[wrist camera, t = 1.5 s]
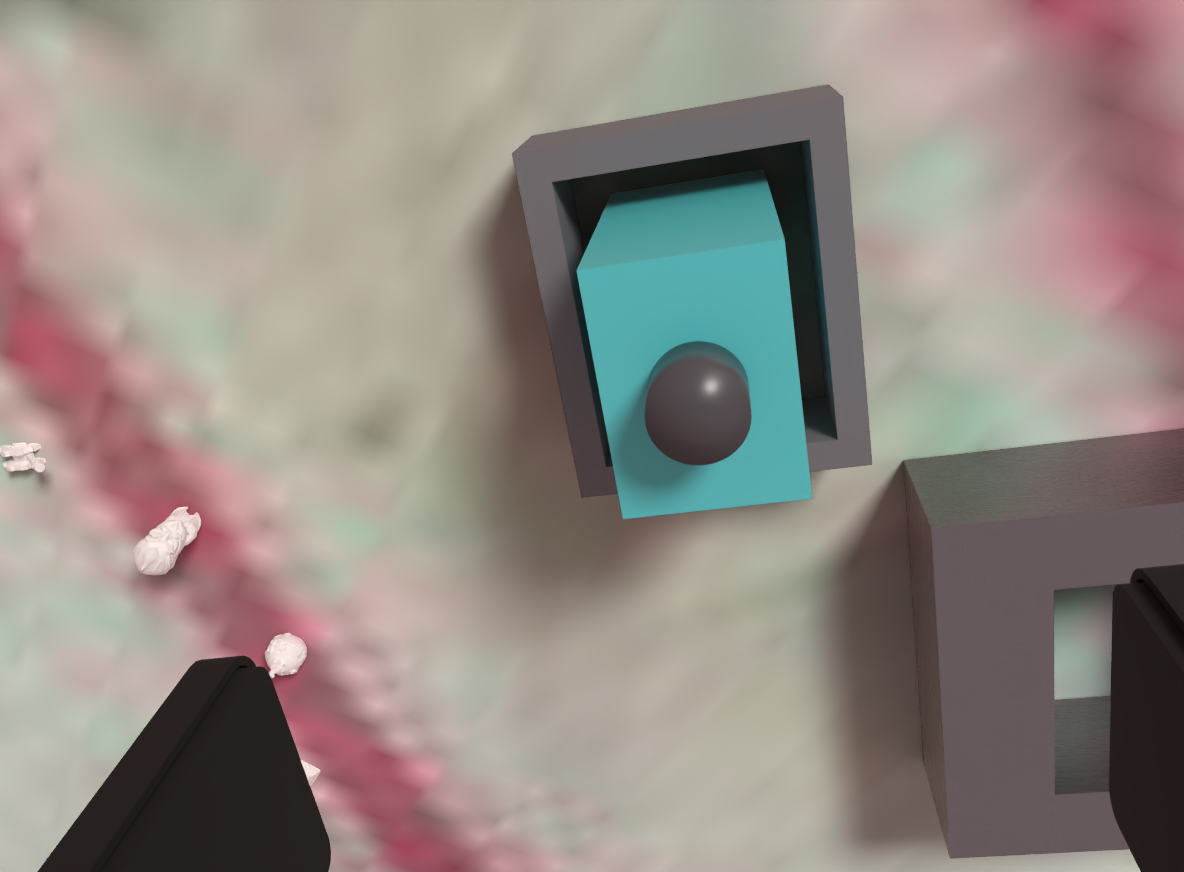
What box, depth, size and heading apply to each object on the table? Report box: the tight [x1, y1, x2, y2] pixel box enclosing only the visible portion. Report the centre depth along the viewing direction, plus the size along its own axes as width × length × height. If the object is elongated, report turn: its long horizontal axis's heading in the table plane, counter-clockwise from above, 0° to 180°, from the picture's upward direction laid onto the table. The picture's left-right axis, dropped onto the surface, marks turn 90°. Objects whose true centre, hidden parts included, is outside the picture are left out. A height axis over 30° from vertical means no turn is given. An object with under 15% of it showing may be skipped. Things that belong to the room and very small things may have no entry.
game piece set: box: [0, 442, 321, 787], centre depth 35 cm, size 19×20×4 cm
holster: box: [512, 85, 872, 498], centre depth 27 cm, size 8×9×3 cm
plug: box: [577, 169, 812, 519], centre depth 24 cm, size 4×6×10 cm
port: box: [904, 429, 1184, 858], centre depth 29 cm, size 11×11×4 cm
